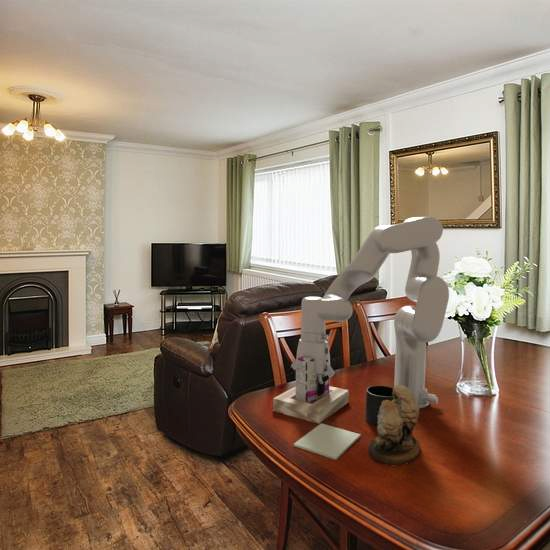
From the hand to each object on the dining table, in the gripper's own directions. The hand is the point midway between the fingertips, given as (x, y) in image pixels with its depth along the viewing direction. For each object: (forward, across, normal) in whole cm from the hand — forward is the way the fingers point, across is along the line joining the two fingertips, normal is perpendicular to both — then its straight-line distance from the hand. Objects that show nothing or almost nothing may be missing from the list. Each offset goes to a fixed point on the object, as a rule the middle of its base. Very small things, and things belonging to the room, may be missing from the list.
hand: (312, 391), depth 139 cm
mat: (+5, -15, +18) cm, 24 cm away
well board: (+5, 0, 0) cm, 5 cm away
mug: (+5, -22, -4) cm, 23 cm away
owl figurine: (+5, -31, +12) cm, 34 cm away
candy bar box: (+5, 0, 0) cm, 5 cm away
